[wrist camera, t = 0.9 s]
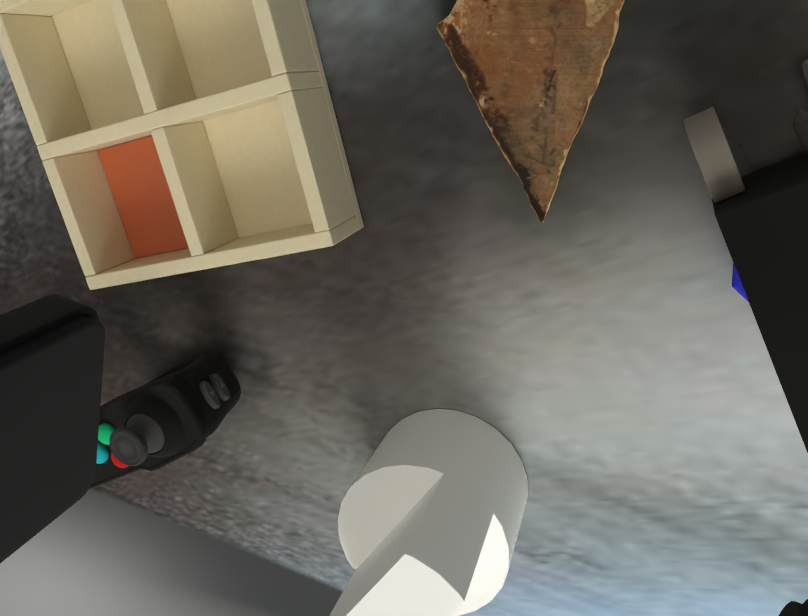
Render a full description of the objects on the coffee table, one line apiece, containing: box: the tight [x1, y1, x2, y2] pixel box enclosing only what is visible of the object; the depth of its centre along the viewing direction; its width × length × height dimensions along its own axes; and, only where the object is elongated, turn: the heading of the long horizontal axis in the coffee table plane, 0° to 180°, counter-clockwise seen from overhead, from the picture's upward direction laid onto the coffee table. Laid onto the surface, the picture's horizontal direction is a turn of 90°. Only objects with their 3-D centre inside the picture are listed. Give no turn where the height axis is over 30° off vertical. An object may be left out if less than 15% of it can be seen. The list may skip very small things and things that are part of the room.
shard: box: [436, 0, 625, 223], centre depth 32 cm, size 11×8×2 cm
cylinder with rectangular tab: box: [330, 409, 528, 616], centre depth 35 cm, size 9×9×12 cm
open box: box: [0, 0, 364, 290], centre depth 36 cm, size 15×15×4 cm
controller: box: [89, 353, 241, 489], centre depth 40 cm, size 4×12×10 cm, turn 120°
